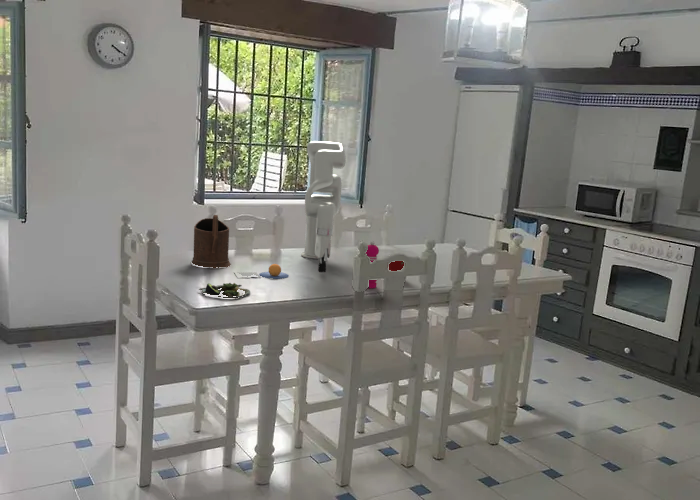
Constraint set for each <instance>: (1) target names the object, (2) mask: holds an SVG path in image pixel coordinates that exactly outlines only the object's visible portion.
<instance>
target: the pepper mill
mask: <svg viewBox="0 0 700 500" xmlns="http://www.w3.org/2000/svg"><path fill="white" fill-rule="evenodd" d="M367 246H368V250H367V252H366V253H365V255H366V254H367V256H368V257H369V258H370V261H371V262H373V261H374V260H376V261H377V260H378V255H379V252H380V250H379V246H378V245H375V241H373V240H371V241H370V244H368V245H367ZM377 281H378V280H369V288H368V289H376V288H377V284H378V283H377Z"/></svg>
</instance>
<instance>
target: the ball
mask: <svg viewBox="0 0 700 500" xmlns="http://www.w3.org/2000/svg"><path fill="white" fill-rule="evenodd" d="M268 272H269V273H270V275H272V276H278V275H279V274H280V273H281V272H282V268H281V265H279V264H277V263H273V264H271V265H270V266H269V267H268Z"/></svg>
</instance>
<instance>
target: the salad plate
mask: <svg viewBox="0 0 700 500" xmlns="http://www.w3.org/2000/svg"><path fill="white" fill-rule="evenodd" d="M241 287H242V284H236V283H235V282H233V283H231V282H229V283H223V284H222V285H213V284H211V283H207V284H206V287H202V288H198V291H201V290H202V291H201V293H202V292H203V293H207V294H210V295H219V294H220V292H221V291H224V292H223V293H222V294H223V295H226V296H228V297H223V298H238V297H242V296H244V297H246V296H248V295H250V294H251V290H250V289H248V288H241ZM220 288H222V289H221V290H218V289H220ZM238 289H240V290H243V291H245V294H244V295H243V294H241V295H240V293H239V292H237V290H238ZM203 293H202V294H203ZM247 294H248V295H247ZM245 295H246V296H245ZM233 296H236V297H233ZM218 297H221V296H218ZM242 298H243V297H242Z"/></svg>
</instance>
